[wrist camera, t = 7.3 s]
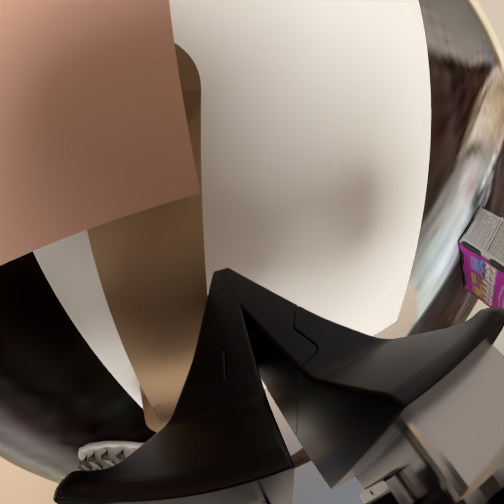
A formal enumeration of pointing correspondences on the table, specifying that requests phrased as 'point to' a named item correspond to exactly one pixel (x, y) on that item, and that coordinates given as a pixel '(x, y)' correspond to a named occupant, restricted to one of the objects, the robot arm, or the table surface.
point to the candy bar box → (484, 257)
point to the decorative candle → (105, 454)
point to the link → (159, 277)
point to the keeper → (87, 117)
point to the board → (294, 160)
